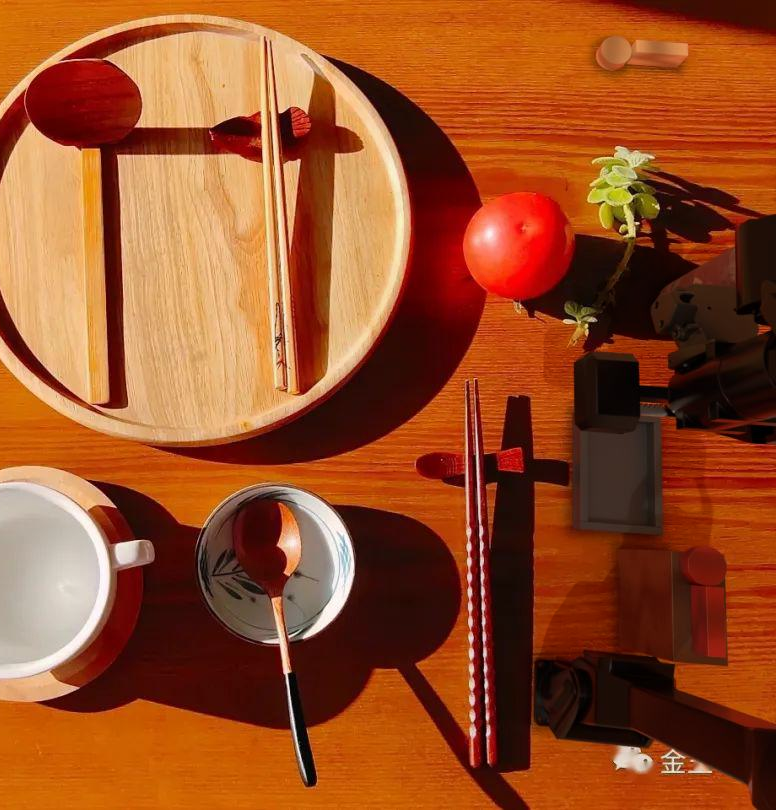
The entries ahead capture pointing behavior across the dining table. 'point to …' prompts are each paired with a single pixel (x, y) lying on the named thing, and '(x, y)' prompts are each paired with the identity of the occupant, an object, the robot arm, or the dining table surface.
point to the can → (710, 273)
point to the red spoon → (706, 598)
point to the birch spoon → (640, 53)
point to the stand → (658, 607)
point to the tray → (618, 480)
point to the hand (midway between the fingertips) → (641, 416)
